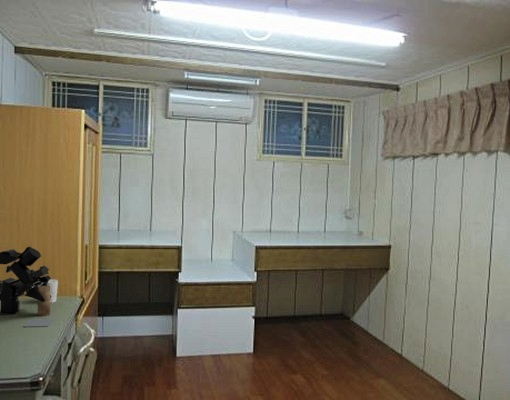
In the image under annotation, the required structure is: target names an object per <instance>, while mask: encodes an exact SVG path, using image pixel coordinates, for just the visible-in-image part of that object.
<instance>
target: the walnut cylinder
mask: <svg viewBox="0 0 510 400" xmlns="http://www.w3.org/2000/svg"><path fill="white" fill-rule="evenodd" d="M38 291H39V292H40V293H41V295H42V296H43V298H44V299H45V301H44V302H42V301H39V300H37V316H38V317H47V316H50V315H51V303H50V286H40V287H38Z"/></svg>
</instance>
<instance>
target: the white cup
mask: <svg viewBox="0 0 510 400" xmlns="http://www.w3.org/2000/svg"><path fill="white" fill-rule="evenodd" d="M58 285H59V280H58V279H55V278H53V279H52V278H51V279H50V280H49V281H48V284H47V286H50V295H51V298H50V304H52V303H55V302H57V295H58V289H59V287H58Z"/></svg>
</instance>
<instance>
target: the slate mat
mask: <svg viewBox="0 0 510 400" xmlns="http://www.w3.org/2000/svg"><path fill="white" fill-rule="evenodd" d="M53 321H54V319H53V318H44V319H43V318H42V319H39V318H38V319H35V318H34V319H28V320H27V322H26V323H25V324H24V325H23V328H47V327H49V326H50V324H51V323H52V322H53Z"/></svg>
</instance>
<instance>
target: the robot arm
mask: <svg viewBox="0 0 510 400" xmlns="http://www.w3.org/2000/svg"><path fill="white" fill-rule="evenodd" d="M41 257H42V255H41V253H40V252H39V250H37V249H35V248H32V246H30V245H29V246H27V247H26V248H25V249H24V251H22V252H19V251H16V249H14V248H13V249H7V250H4V251H0V265H6V268H5V269H6V270H5V273H7V274H8V273H11V272H12V273H13V274H14V275H15V276H16V278H17V279H15V278H12V277H9V278H5V279H3V280H0V315H15V314H17V313H18V312H19V311H20V308H21V305H20V303H21V302H20V300H19V297H22V296H25V297H28V298H31V299H34V300H36V301H38V300H39V301H42V302H44V301H45V299H44V298H43V296H42V295H41V293H40V292H39V291H38V287H40V286H47V284H48V281H49V280H50V279H52V278H51V276H50V275H49V270H50V269H49V268H48V267H47V266H46V265H41V266H40V267H39V269H37V270H35V269H30V268H29V267H32V266H33V265H34V264H35V263H36V262H37V261H38V260H39V259H40V258H41ZM8 264H11V265H8ZM50 298H51V295H50Z"/></svg>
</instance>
